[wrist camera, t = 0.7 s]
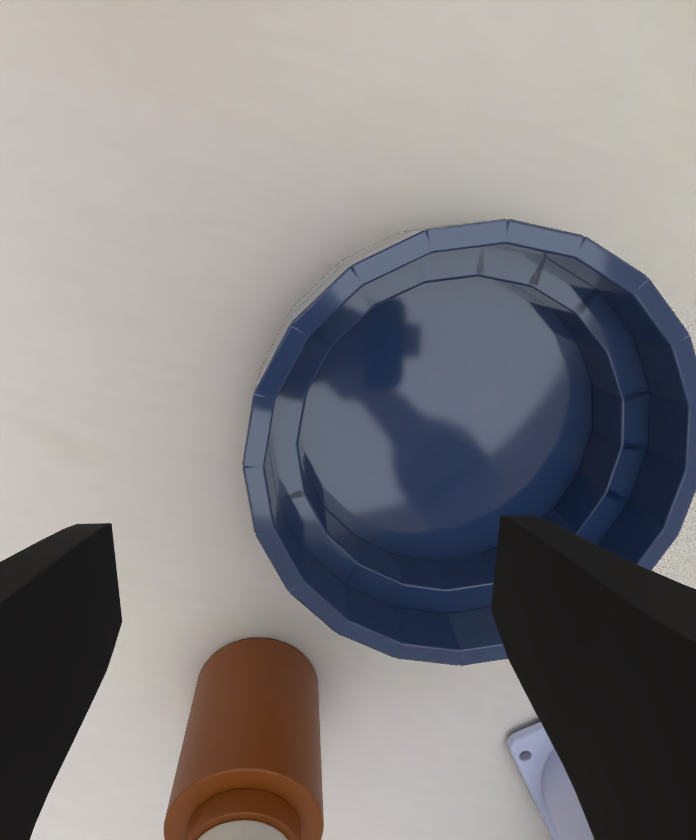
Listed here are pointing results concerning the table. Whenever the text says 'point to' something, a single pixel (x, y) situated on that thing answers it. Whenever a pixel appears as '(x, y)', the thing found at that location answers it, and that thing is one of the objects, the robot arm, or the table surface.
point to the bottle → (250, 749)
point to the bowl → (464, 427)
